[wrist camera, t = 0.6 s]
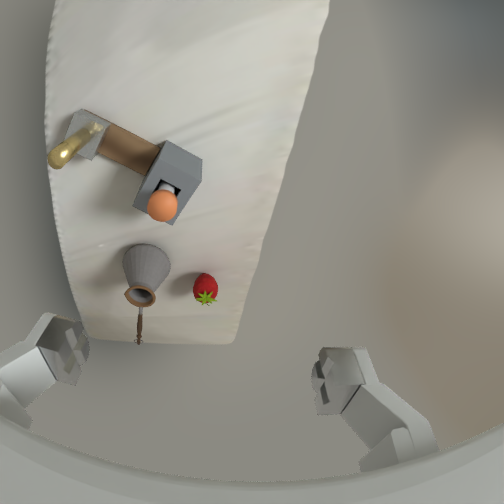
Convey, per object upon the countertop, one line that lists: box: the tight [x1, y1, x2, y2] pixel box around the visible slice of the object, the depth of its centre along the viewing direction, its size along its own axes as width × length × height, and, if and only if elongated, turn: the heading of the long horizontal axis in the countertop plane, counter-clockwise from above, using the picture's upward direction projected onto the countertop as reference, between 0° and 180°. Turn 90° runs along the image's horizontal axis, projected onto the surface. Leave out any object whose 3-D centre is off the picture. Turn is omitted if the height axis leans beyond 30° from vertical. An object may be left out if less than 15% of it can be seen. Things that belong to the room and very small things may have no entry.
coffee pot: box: [123, 244, 170, 345], centre depth 63 cm, size 21×12×15 cm, turn 162°
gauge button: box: [147, 179, 178, 222], centre depth 46 cm, size 5×5×11 cm
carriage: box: [48, 109, 111, 169], centre depth 38 cm, size 7×7×14 cm
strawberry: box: [193, 273, 218, 306], centre depth 68 cm, size 6×8×10 cm
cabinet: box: [133, 140, 202, 225], centre depth 50 cm, size 11×8×10 cm
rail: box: [85, 110, 160, 176], centre depth 47 cm, size 6×18×2 cm, turn 53°
